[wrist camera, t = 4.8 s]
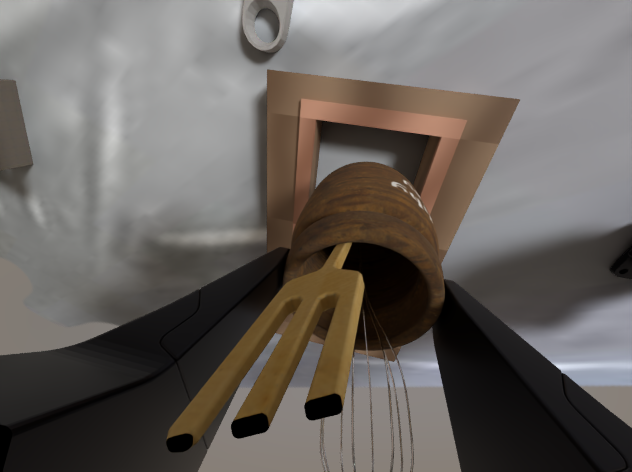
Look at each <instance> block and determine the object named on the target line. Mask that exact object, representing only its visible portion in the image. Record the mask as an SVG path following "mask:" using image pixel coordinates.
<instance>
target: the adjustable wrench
mask: <svg viewBox="0 0 632 472" xmlns="http://www.w3.org/2000/svg"><path fill="white" fill-rule="evenodd" d="M293 2H294V0H244V5H243V14H242V25H243V29H244V33H245V35H246V37H247V39H248V41H249V42H250V43H251V44H252V45H253V46H254V47H255V48H257V49H259V50H261V51H264V52H267V53H273V52H277V51H278V50H279V49H281V48H282V46H283V45H284V43H285V42H286V39H287V36H288V31H289V25H290V19H291V13H292V8H293ZM264 8H268V9H271V10H272V11H273V12H274V13H275V14H276V15H277V18H278V20H279V33H278V36H277V38H276V39H275V40H274V41H273V42H270V43H265V42H263V41H261V40H260V39H259V38H258V36H257V34H256V32H255V18H256V16H257V14H258V12H259V11H260V10H261V9H264Z"/></svg>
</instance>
